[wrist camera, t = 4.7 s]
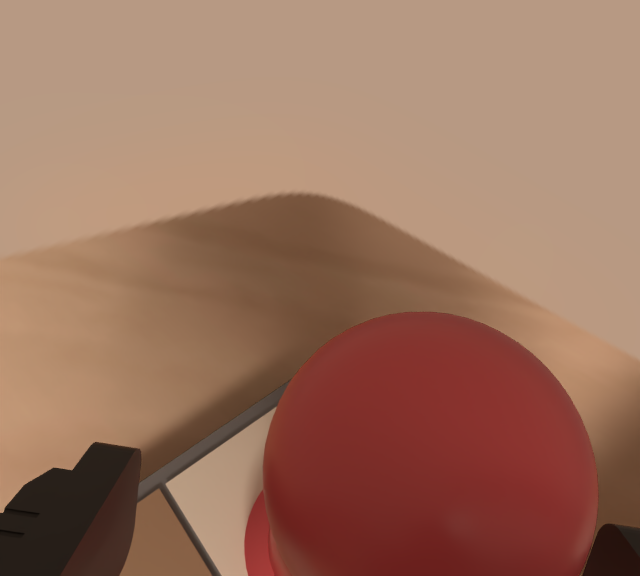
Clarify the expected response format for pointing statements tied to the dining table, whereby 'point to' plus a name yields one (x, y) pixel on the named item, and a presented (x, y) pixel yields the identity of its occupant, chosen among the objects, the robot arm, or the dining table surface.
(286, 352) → the dining table surface
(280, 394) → the board
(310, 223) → the dining table surface
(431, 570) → the pawn
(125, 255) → the dining table surface
